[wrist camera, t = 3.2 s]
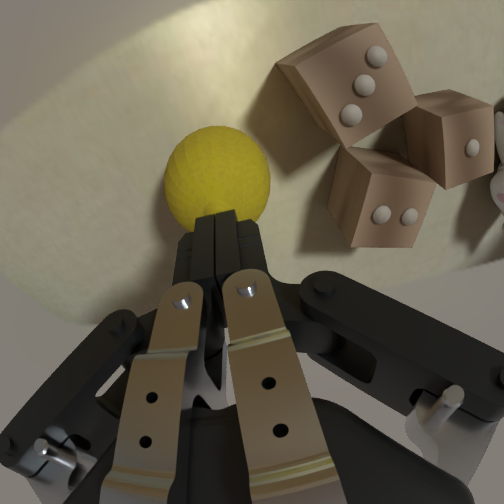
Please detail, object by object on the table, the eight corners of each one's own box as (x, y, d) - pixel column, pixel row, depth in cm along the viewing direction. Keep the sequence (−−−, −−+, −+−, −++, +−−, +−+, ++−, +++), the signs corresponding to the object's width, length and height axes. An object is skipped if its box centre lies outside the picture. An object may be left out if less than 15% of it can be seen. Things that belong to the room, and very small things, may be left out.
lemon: (251, 197, 21) (268, 273, 15) (171, 188, 20) (151, 263, 13) (267, 120, 18) (299, 165, 11) (179, 109, 17) (154, 146, 10)
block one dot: (448, 89, 17) (495, 106, 12) (453, 146, 20) (495, 173, 15) (398, 99, 17) (443, 118, 13) (407, 160, 20) (447, 191, 16)
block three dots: (339, 26, 14) (379, 22, 10) (376, 89, 17) (420, 106, 13) (274, 63, 15) (295, 66, 11) (317, 125, 18) (347, 150, 14)
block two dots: (398, 153, 20) (438, 184, 16) (382, 210, 23) (413, 249, 19) (339, 144, 19) (373, 174, 15) (326, 207, 22) (351, 249, 18)
